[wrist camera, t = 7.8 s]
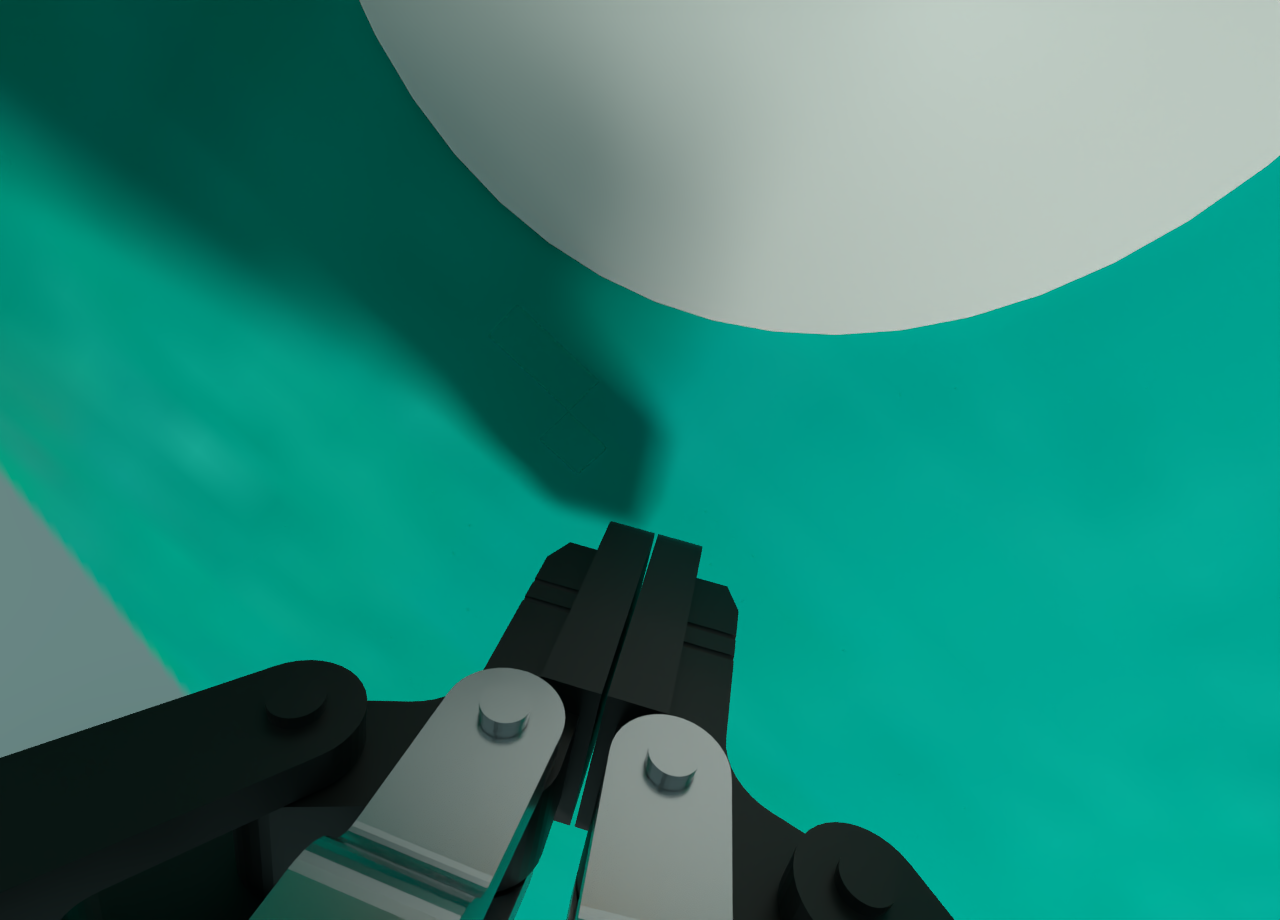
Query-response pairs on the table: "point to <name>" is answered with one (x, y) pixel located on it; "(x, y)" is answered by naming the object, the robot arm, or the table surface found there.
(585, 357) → the table surface
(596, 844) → the robot arm
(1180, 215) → the disc
